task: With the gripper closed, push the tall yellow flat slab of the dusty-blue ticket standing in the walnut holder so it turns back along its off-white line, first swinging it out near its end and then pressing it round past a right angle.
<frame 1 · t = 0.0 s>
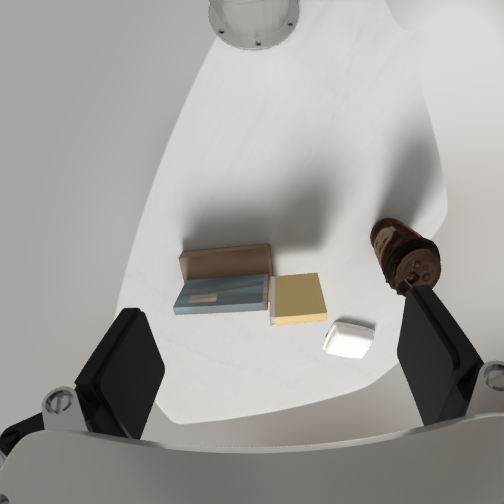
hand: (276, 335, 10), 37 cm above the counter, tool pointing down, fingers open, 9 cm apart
coffee cup: (386, 235, 47), on the counter
soap: (347, 336, 56), on the counter
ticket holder: (229, 273, 51), on the counter
yellow flat slab: (296, 296, 42), point 9 cm above the counter, hinge at 0.0°
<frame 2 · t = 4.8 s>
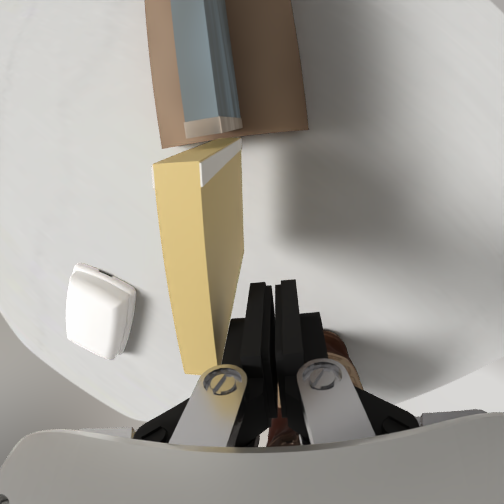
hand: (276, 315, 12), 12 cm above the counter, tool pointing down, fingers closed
coffee cup: (310, 351, 27), on the counter
soap: (102, 307, 27), on the counter
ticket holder: (224, 39, 17), on the counter
yellow flat slab: (217, 226, 14), point 9 cm above the counter, hinge at 5.9°, touching gripper
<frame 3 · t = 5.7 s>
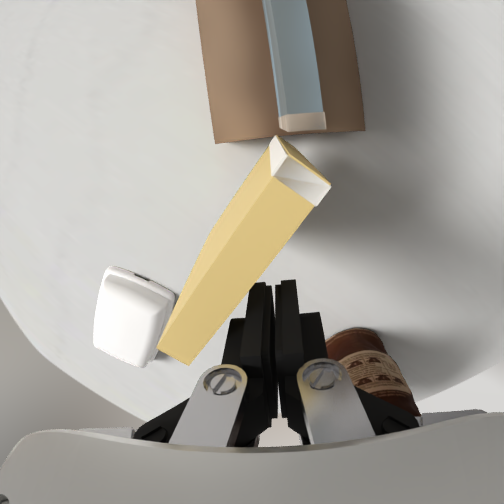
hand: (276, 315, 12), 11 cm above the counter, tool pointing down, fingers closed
coffee cup: (348, 350, 27), on the counter
soap: (134, 312, 27), on the counter
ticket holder: (275, 35, 17), on the counter
yellow flat slab: (243, 218, 13), point 9 cm above the counter, hinge at 41.0°, touching gripper
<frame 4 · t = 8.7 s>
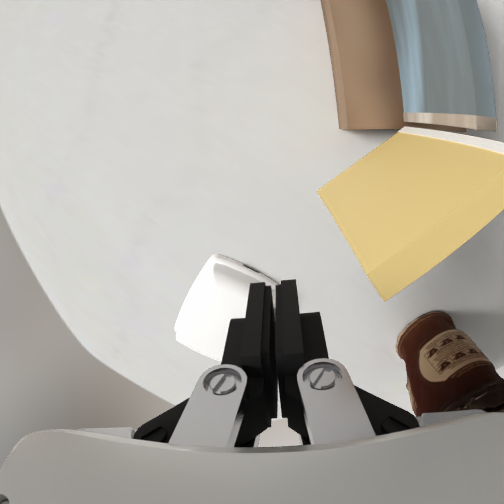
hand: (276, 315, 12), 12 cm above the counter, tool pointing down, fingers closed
coffee cup: (423, 334, 27), on the counter
soap: (226, 305, 27), on the counter
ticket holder: (387, 36, 17), on the counter
yellow flat slab: (402, 183, 12), point 9 cm above the counter, hinge at 58.0°
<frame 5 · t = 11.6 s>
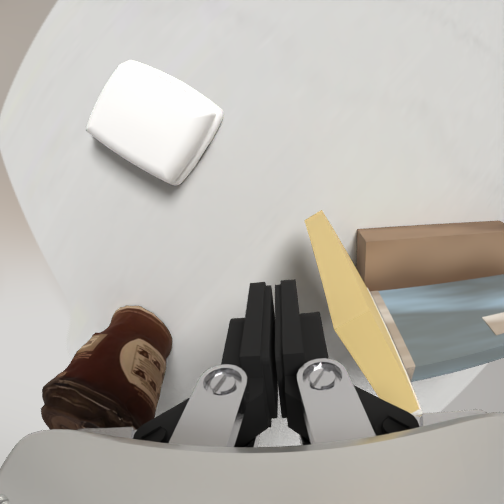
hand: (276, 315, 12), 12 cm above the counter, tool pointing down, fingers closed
coffee cup: (143, 331, 28), on the counter
soap: (155, 120, 20), on the counter
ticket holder: (432, 274, 23), on the counter
yellow flat slab: (359, 305, 15), point 9 cm above the counter, hinge at 61.8°, touching gripper
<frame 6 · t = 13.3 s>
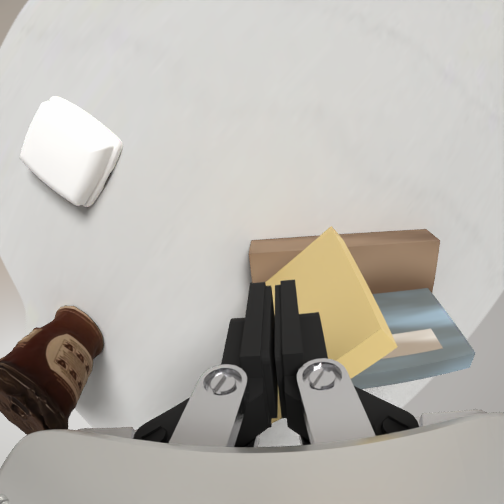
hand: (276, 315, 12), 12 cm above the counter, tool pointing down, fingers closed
coffee cup: (81, 329, 29), on the counter
soap: (74, 148, 22), on the counter
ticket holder: (343, 286, 25), on the counter
yellow flat slab: (302, 313, 16), point 9 cm above the counter, hinge at 140.8°, touching gripper
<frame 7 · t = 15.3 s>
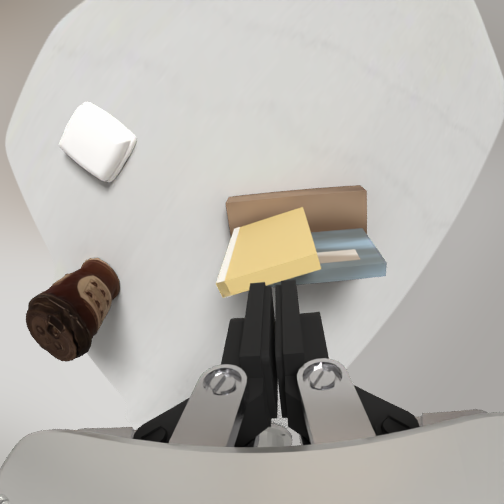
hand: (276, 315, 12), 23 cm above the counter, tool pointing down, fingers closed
coffee cup: (101, 277, 39), on the counter
soap: (100, 140, 32), on the counter
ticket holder: (298, 230, 34), on the counter
yellow flat slab: (269, 245, 25), point 9 cm above the counter, hinge at 166.8°
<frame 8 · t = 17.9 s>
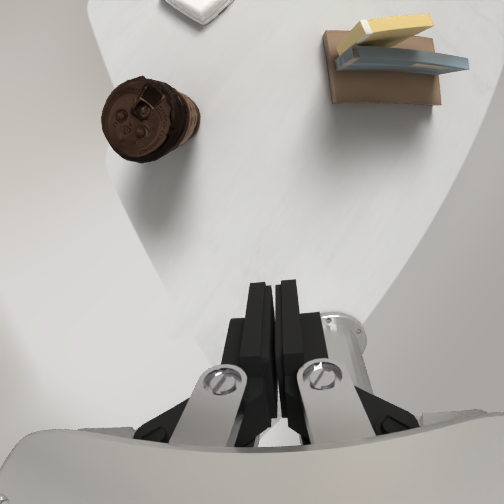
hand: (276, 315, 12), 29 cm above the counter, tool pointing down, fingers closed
coffee cup: (178, 118, 36), on the counter
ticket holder: (381, 69, 31), on the counter
yellow flat slab: (380, 35, 23), point 9 cm above the counter, hinge at 166.9°
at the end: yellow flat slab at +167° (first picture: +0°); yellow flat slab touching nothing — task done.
